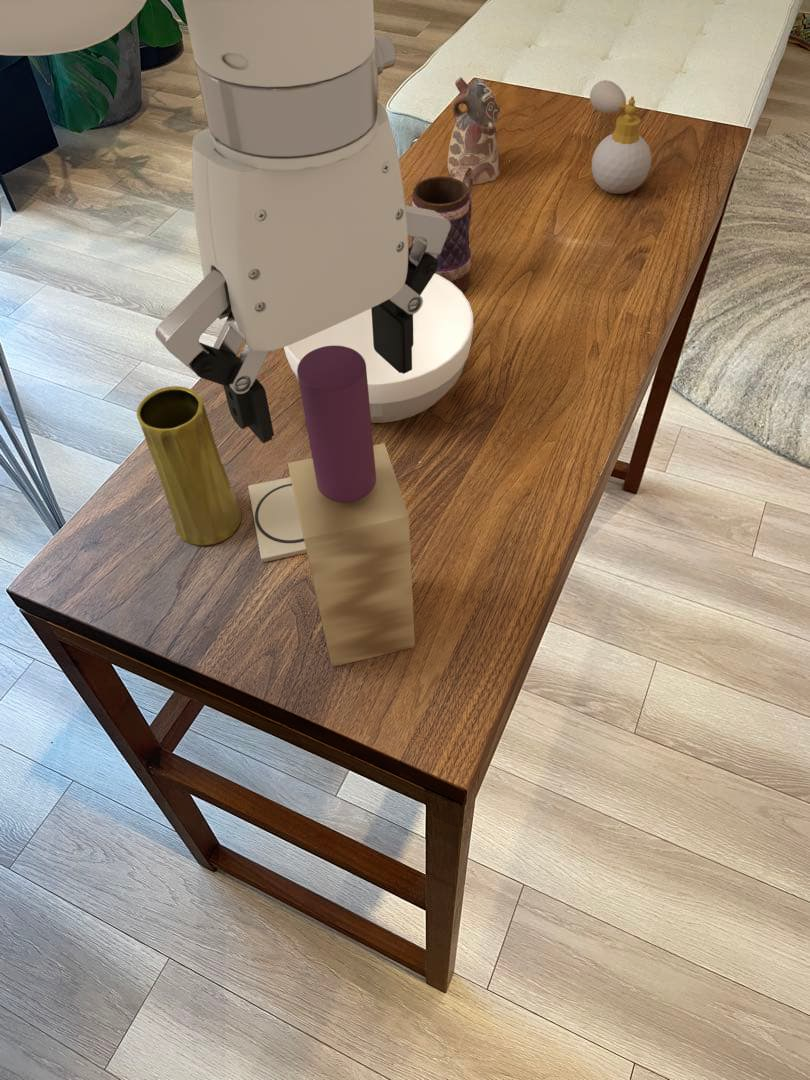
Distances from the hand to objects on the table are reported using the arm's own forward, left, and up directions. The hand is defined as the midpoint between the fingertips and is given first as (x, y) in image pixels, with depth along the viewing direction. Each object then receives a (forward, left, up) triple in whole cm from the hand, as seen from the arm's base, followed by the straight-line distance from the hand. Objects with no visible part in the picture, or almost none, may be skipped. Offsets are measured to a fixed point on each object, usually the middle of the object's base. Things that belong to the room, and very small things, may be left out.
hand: (326, 393), depth 49 cm
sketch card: (-2, +13, -26) cm, 29 cm away
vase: (-11, +15, -26) cm, 32 cm away
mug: (+20, +45, -26) cm, 56 cm away
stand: (0, 0, -26) cm, 26 cm away
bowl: (+8, +28, -26) cm, 39 cm away
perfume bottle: (+46, +58, -26) cm, 79 cm away
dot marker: (+1, 0, -9) cm, 9 cm away
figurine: (+30, +67, -26) cm, 78 cm away
